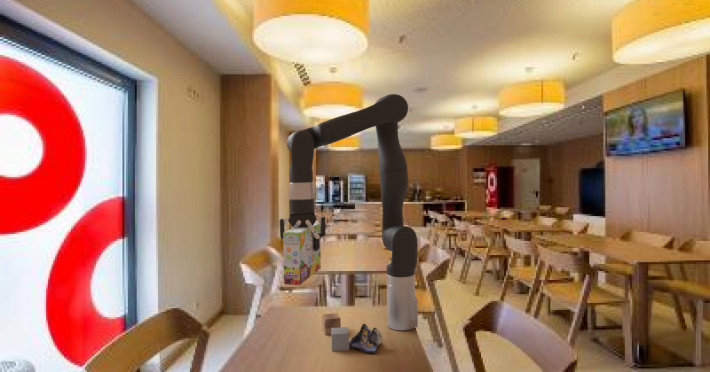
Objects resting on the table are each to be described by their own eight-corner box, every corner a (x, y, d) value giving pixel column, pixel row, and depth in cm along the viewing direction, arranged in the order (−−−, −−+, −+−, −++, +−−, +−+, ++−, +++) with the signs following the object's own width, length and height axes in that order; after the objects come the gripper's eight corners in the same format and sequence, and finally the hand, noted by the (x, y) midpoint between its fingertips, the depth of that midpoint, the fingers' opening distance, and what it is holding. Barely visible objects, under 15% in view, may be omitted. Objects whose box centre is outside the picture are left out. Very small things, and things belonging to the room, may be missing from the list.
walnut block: (337, 328, 142) (337, 313, 142) (340, 333, 137) (340, 318, 137) (322, 329, 141) (322, 314, 141) (325, 335, 136) (324, 319, 136)
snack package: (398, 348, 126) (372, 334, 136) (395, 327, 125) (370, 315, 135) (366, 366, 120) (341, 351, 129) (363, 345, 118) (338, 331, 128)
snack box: (302, 285, 121) (300, 231, 120) (283, 285, 122) (281, 232, 121) (322, 268, 142) (320, 222, 141) (305, 268, 143) (304, 222, 142)
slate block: (348, 343, 129) (347, 327, 129) (349, 350, 125) (349, 333, 124) (331, 344, 129) (331, 327, 129) (332, 351, 124) (331, 334, 124)
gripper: (323, 195, 136) (324, 248, 137) (276, 197, 133) (278, 251, 133) (327, 197, 129) (328, 252, 129) (278, 199, 125) (280, 255, 126)
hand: (303, 251), depth 131 cm, fingers closed on snack box, 7 cm apart
